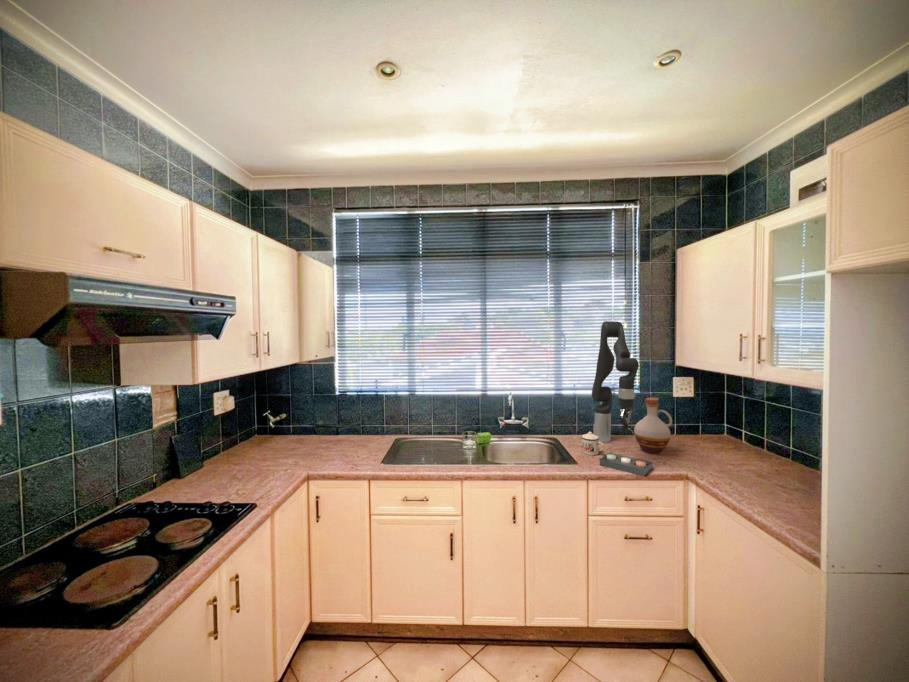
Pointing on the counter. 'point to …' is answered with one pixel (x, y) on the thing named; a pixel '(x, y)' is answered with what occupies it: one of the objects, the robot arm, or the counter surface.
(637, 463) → the orange rounded piece
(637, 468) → the panel
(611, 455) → the sage button
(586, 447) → the teacup with lid
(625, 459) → the ivory button
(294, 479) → the counter surface
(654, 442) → the jug
